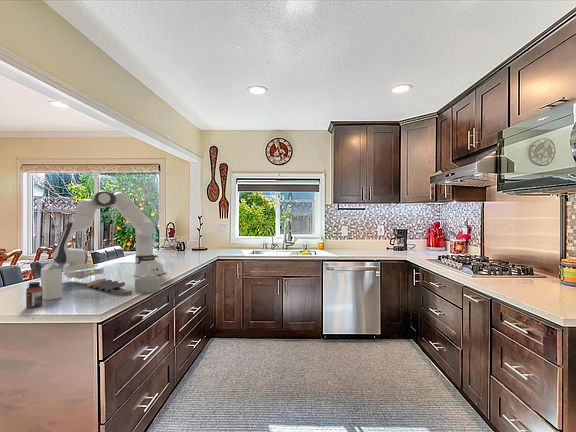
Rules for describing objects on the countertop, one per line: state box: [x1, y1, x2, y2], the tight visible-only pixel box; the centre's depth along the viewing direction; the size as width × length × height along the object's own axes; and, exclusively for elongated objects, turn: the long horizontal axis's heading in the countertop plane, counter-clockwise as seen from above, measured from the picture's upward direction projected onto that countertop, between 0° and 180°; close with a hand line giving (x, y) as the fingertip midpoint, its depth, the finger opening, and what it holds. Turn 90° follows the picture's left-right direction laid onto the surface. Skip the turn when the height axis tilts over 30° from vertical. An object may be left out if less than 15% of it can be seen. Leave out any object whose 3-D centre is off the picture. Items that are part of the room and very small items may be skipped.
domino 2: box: [98, 280, 119, 291], centre depth 187 cm, size 2×5×12 cm
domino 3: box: [104, 281, 126, 292], centre depth 183 cm, size 2×5×12 cm
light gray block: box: [134, 274, 161, 294], centre depth 188 cm, size 10×13×9 cm
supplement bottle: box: [25, 281, 43, 309], centre depth 153 cm, size 6×6×11 cm
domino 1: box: [92, 279, 113, 290], centre depth 190 cm, size 2×5×12 cm
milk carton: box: [40, 260, 63, 302], centre depth 168 cm, size 7×7×19 cm
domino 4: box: [110, 287, 133, 297], centre depth 180 cm, size 2×5×12 cm
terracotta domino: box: [86, 277, 107, 288], centre depth 194 cm, size 2×5×12 cm
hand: (91, 273), depth 197 cm, fingers closed
